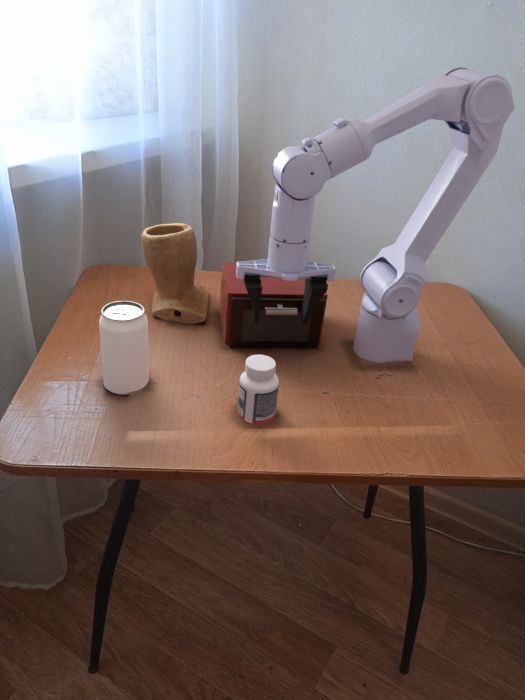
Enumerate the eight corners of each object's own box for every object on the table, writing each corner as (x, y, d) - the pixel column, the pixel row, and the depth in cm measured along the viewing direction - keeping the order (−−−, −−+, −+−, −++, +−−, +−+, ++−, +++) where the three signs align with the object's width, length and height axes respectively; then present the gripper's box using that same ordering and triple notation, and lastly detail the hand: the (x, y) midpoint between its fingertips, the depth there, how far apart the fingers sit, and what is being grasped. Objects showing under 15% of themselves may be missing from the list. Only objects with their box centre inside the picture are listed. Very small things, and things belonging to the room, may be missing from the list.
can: (139, 400, 78) (136, 325, 72) (95, 391, 79) (89, 316, 73) (155, 375, 84) (154, 303, 77) (114, 367, 84) (110, 296, 78)
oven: (305, 315, 105) (312, 265, 99) (319, 348, 95) (327, 295, 89) (219, 313, 102) (222, 262, 97) (224, 348, 92) (227, 293, 87)
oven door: (316, 345, 94) (324, 298, 89) (321, 357, 91) (329, 308, 86) (228, 345, 91) (231, 296, 87) (230, 357, 88) (233, 307, 84)
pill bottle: (280, 412, 79) (287, 359, 74) (265, 433, 74) (271, 378, 70) (247, 400, 80) (251, 347, 76) (230, 420, 76) (234, 365, 72)
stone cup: (147, 288, 109) (146, 212, 101) (209, 291, 110) (212, 217, 102) (136, 326, 96) (132, 242, 88) (206, 330, 97) (209, 247, 89)
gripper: (242, 245, 75) (235, 332, 82) (346, 248, 77) (331, 333, 85) (237, 227, 81) (231, 310, 88) (334, 231, 83) (321, 311, 90)
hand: (280, 320), depth 87 cm, fingers open, 7 cm apart
